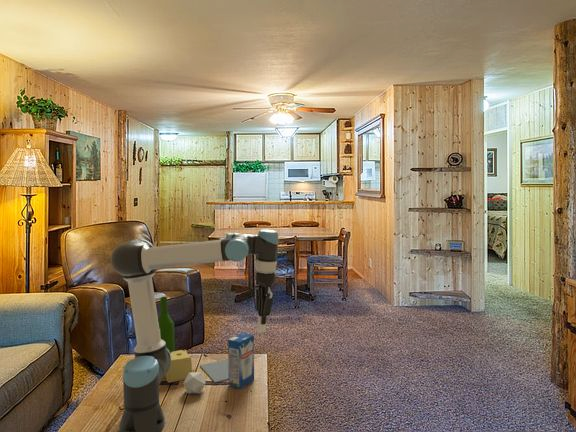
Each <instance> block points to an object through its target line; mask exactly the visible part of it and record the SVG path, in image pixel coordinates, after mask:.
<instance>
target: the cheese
mask: <svg viewBox="0 0 576 432" xmlns="http://www.w3.org/2000/svg"><path fill="white" fill-rule="evenodd" d="M170 354H171V364H170V368H169V370H168V372H167V373H166V374H165V376H164V377H165V378H166V381H167V384H170V383H174V382H175V383H176V382H179V381H185V379H186V377H187V376H188V374H189V372H192V371H193V370H192V369H193V366H192V365H193V364H192V363H193V362H192V358H191V355H189V353H188V352H187V349H179V350H175V351H174V352H171V353H170Z"/></svg>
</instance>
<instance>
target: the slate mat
mask: <svg viewBox="0 0 576 432" xmlns="http://www.w3.org/2000/svg"><path fill="white" fill-rule="evenodd" d="M199 367H200V368H201V369H202V370H203V371H204V372H205V374H206V373H207V374H208V375H209V376H208V375H207V374H206V375H207V376H208V377H209V378H210V379H211V380H212V382H213V383H214V384H217V383H220V382H224V381H225V382H226V381H229V371H228V358H227V359H221V360H216V361H213V362H208V363H203V364H199Z"/></svg>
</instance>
